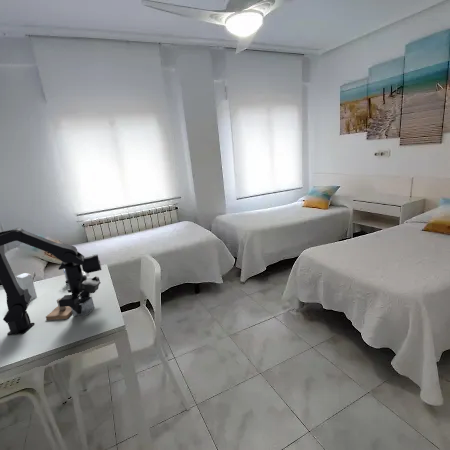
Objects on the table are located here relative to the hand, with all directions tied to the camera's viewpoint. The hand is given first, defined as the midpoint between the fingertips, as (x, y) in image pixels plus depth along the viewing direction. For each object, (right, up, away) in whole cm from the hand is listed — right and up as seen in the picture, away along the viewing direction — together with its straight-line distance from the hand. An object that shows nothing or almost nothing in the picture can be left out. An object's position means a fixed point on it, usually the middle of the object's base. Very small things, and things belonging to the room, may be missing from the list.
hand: (83, 309), depth 114 cm
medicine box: (-20, +5, +30) cm, 37 cm away
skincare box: (-35, 0, +17) cm, 39 cm away
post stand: (-9, -2, +1) cm, 9 cm away
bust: (-9, +3, +19) cm, 22 cm away
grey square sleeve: (0, -1, 0) cm, 1 cm away
